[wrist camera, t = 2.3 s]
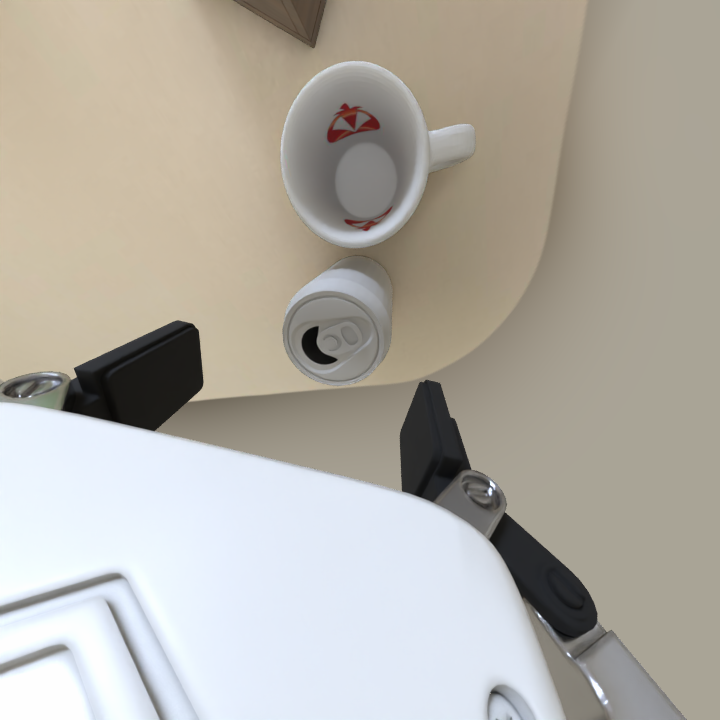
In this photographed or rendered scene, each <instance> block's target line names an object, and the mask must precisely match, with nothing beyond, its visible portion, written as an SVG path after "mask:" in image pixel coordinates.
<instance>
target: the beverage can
mask: <svg viewBox="0 0 720 720" xmlns="http://www.w3.org/2000/svg"><path fill="white" fill-rule="evenodd" d="M391 336H392V284H391V281H390V278H389V276H388V274H387V272H386V271H385V270H384V268H383V267H382V266H381V265H380V264H378V263H377V262H376V261H374V260H372V259H370V258H367V257H363V256H350V257H346V258H343V259H341V260H339V261H338V262H336V263H335V264H334V265H332V266H331V267H330V268H328V269H327V270H326V271H324V272H323V273H322V274H320V275H319V276H318V277H316V278H315V279H313V280H312V281H311V282H309V283H308V284H307V285H305V286H304V287H303V288H301V289H300V290H299V291H298V292H297V293H296V294H295V295H294V297H293V298H292V299H291V301H290V303H289V305H288V307H287V310H286V313H285V318H284V324H283V343H284V347H285V350H286V352H287V354H288V356H289V358H290V360H291V361H292V362H293V364H294V365H295V366H296V367H297V368H298V369H299V370H300V371H301V372H302V373H303V374H305V375H306V376H308V377H309V378H311V379H313V380H315V381H317V382H320V383H323V384H327V385H335V386H342V385H349V384H353V383H356V382H359V381H361V380H363V379H364V378H366V377H367V376H369V375H370V374H371V373H372V372H373V371H374V370H375V368H376V367H377V366H378V365H379V364H380V363H381V362H382V361H383V359H384V358H385V356H386V354H387V352H388V350H389V347H390V343H391Z"/></svg>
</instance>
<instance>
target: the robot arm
mask: <svg viewBox="0 0 720 720" xmlns="http://www.w3.org/2000/svg"><path fill="white" fill-rule="evenodd" d="M74 370H75V373H76V375H77V378H75V379H73V380H71V379H70V377H69V376H68V375H67V374H64V373H61V372H37V373H30V374H26V375H22V376H18V377H15V378H13V379H10V380H7V381H6V382H4V383H2V384H1V385H0V720H686V718H685V717H684V716H683V715H682V714H681V712H680V711H679V710H678V709H677V708H676V706H675V705H674V704H673V703H672V702H671V701H670V699H669V698H668V697H667V696H666V694H665V693H664V692H663V691H662V690H661V688H659V686H658V685H657V684H656V682H655V681H654V680H653V679H652V678H651V677H650V675H649V674H648V673H647V672H646V670H645V669H644V668H643V667H642V666H641V664H640V663H639V662H638V661H637V660H636V658H635V657H634V656H633V655H632V654H631V652H630V651H629V650H628V649H627V648H626V647H625V645H624V644H623V643H622V642H621V640H620V639H619V638H618V637H617V636H616V634H615V633H614V632H613V631H612V630H610V631H608V632H606V631H605V630H604V628H603V627H602V626H601V625H600V623H599V622H598V621H597V611H596V608H595V605H594V602H593V600H592V598H591V596H590V594H589V592H588V591H587V589H586V588H585V587H584V585H583V584H582V582H581V581H580V580H579V579H578V578H577V577H576V576H575V575H574V574H573V573H572V572H571V571H570V570H569V569H568V568H567V567H566V566H565V565H564V564H562V563H561V562H560V561H559V560H558V559H557V558H556V557H555V556H553V555H552V554H551V553H550V552H549V551H548V550H547V549H546V548H544V547H543V546H542V545H541V544H540V543H539V542H538V541H537V540H536V539H534V538H533V537H532V536H531V535H530V534H529V533H527V532H526V531H525V530H524V529H523V528H522V527H521V526H520V525H519V524H517V523H516V522H515V521H514V520H513V519H512V518H511V517H510V516H509V515H507V514H506V513H505V510H506V506H507V503H506V498H505V496H504V494H503V492H502V490H501V489H500V487H499V486H498V485H497V484H496V483H495V482H494V481H493V480H492V479H491V478H489V477H488V476H486V475H485V474H483V473H480V472H478V471H475V470H471V467H470V464H469V461H468V458H467V455H466V452H465V448H464V445H463V442H462V439H461V436H460V433H459V430H458V427H457V424H456V421H455V419H453V418H451V417H450V414H449V411H448V408H447V404H446V401H445V398H444V395H443V391H442V388H441V384H440V383H438V382H434V381H429V380H425V382H424V383H423V382H420V383H419V385H418V388H417V390H416V393H415V395H414V398H413V401H412V403H411V406H410V408H409V411H408V413H407V416H406V419H405V422H404V424H403V426H402V429H401V432H400V453H401V477H402V491H398V490H395V489H391V488H388V487H384V486H381V485H376V484H373V483H369V482H364V481H361V480H356V479H353V478H349V477H345V476H341V475H337V474H333V473H329V472H325V471H320V470H316V469H312V468H308V467H304V466H300V465H295V464H291V463H287V462H283V461H279V460H275V459H270V458H266V457H262V456H258V455H254V454H250V453H245V452H241V451H237V450H232V449H228V448H224V447H220V446H216V445H211V444H207V443H203V442H198V441H194V440H190V439H186V438H181V437H177V436H173V435H168V434H164V433H160V432H155V430H156V429H157V428H159V427H160V426H161V425H162V424H163V423H164V422H165V421H166V420H167V419H169V418H170V417H171V416H172V415H173V414H174V413H175V412H176V411H178V410H179V409H180V408H181V407H182V406H183V405H184V404H185V403H187V402H188V401H189V400H190V399H191V398H192V397H193V396H194V395H196V394H197V393H198V392H199V391H200V390H201V389H202V387H203V372H202V361H201V350H200V339H199V331H198V329H197V328H195V326H194V325H193V324H191V323H187V322H183V321H178V320H177V321H174V322H172V323H170V324H168V325H166V326H163V327H161V328H159V329H157V330H155V331H153V332H150V333H148V334H146V335H144V336H142V337H140V338H138V339H135V340H133V341H131V342H129V343H127V344H125V345H123V346H120V347H118V348H116V349H114V350H112V351H110V352H107V353H105V354H103V355H101V356H99V357H97V358H95V359H92V360H90V361H88V362H86V363H84V364H82V365H80V366H77V367H75V368H74ZM490 693H491V694H490Z"/></svg>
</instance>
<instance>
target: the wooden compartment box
mask: <svg viewBox="0 0 720 720" xmlns="http://www.w3.org/2000/svg"><path fill="white" fill-rule="evenodd" d="M234 1H235V2H237V3H239V4H240V5H242V6H244V7H246V8H247V9H249V10H251V11H252V12H254V13H256V14H257V15H259V16H261V17H262V18H264V19H266V20H267V21H269V22H271V23H272V24H274V25H276V26H277V27H279V28H281V29H282V30H284V31H286V32H287V33H289V34H291V35H292V36H294V37H296V38H297V39H299V40H301V41H302V42H304V43H306V44H307V45H309V46H311V47H312V48H314V47H315V43H316V39H317V35H318V31H319V27H320V23H321V19H322V15H323V11H324V7H325V3H326V0H234Z"/></svg>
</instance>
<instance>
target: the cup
mask: <svg viewBox="0 0 720 720" xmlns="http://www.w3.org/2000/svg"><path fill="white" fill-rule="evenodd" d="M475 146H476V136H475V130H474V128H473V126H472V125H470V124H459V125H454V126H449V127H446V128H442V129H438V130H434V131H428V130H427V126H426V122H425V119H424V116H423V113H422V111H421V108H420V106H419V104H418V102H417V100H416V99H415V97H414V96H413V94H412V92H411V91H410V90H409V89H408V87H407V86H406V85H405V84H404V83H403V82H402V81H401V80H400V79H399V78H398V77H397V76H396V75H394V74H393V73H391V72H390V71H388V70H387V69H385V68H383V67H380V66H378V65H376V64H373V63H369V62H362V61H348V62H343V63H339V64H336V65H333V66H331V67H328V68H326V69H325V70H323V71H321V72H320V73H318V74H317V75H316V76H314V77H313V78H312V79H311V80H310V81H309V82H308V83H307V84H306V85H305V86H304V87H303V89H302V90H301V91H300V93H299V94H298V96H297V97H296V99H295V100H294V102H293V104H292V106H291V108H290V110H289V113H288V115H287V118H286V121H285V125H284V129H283V133H282V139H281V151H280V159H281V171H282V177H283V182H284V186H285V189H286V192H287V195H288V197H289V200H290V202H291V204H292V206H293V208H294V210H295V211H296V213H297V215H298V216H299V217H300V219H301V220H302V221H303V223H304V224H305V225H306V226H307V227H308V228H309V229H310V230H311V231H312V232H313V233H315V234H316V235H317V236H319V237H320V238H322V239H324V240H325V241H327V242H329V243H332V244H334V245H337V246H341V247H346V248H364V247H369V246H373V245H376V244H378V243H381V242H383V241H385V240H386V239H388V238H390V237H391V236H393V235H394V234H395V233H396V232H398V231H399V230H400V229H401V228H402V227H403V226H404V225H405V224H406V223H407V221H408V220H409V219H410V217H411V216H412V215H413V213H414V211H415V210H416V208H417V206H418V204H419V202H420V200H421V198H422V195H423V193H424V190H425V187H426V183H427V179H428V174H429V173H431V172H434V171H438V170H441V169H445V168H448V167H451V166H454V165H456V164H458V163H461V162H463V161H465V160H467V159H468V158H470V157H471V156H472V155H473V153H474V151H475Z"/></svg>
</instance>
